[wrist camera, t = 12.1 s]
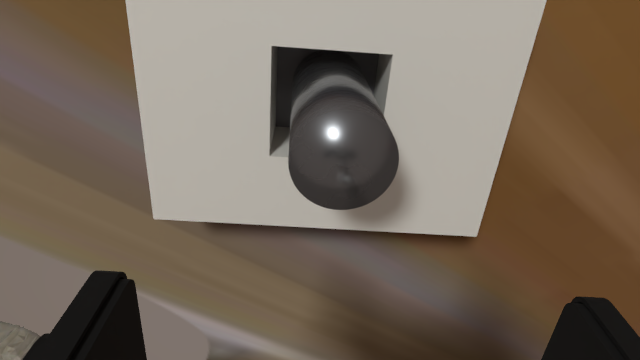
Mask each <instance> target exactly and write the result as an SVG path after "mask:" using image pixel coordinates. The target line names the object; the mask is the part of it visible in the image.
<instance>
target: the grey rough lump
mask: <svg viewBox="0 0 640 360" xmlns="http://www.w3.org/2000/svg"><path fill="white" fill-rule="evenodd" d="M39 337H40V336H39V335H38V334H37V333H34V332H32V331H30V330H27V329H25V328H24V327H21V328H20V326H18V325H12V324H10V323H5V322H2V321H0V360H22V359H23V358H24V356H25V355H26V354H27V352H28V351H29V349H30V348H31V347H32V345H33V344H34V343H35V342H36V341H37V339H38V338H39Z"/></svg>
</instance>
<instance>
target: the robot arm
mask: <svg viewBox="0 0 640 360" xmlns="http://www.w3.org/2000/svg"><path fill="white" fill-rule="evenodd" d="M22 360H147V358H146V352H145V345H144V339H143V333H142V327H141V320H140V313H139V307H138V300H137V294H136V287H135V283H134V281H133V280H132V279H127V276H126V274H125V273H124V272H114V271H94V272H93V273H92V274H91V275H90V277H89V278H88V280H87V281H86V283H85V284H84V286H83V287H82V288H81V290H80V291H79V292H78V294H77V295H76V297H75V298H74V300H73V301H72V303H71V304H70V305H69V307H68V308H67V310H66V311H65V313H64V314H63V316H62V317H61V319H60V320H59V322H58V323H57V324H56V326H55V327H54V329H53V330H52V332H51V333H50V334H44V335H42V336H41V337H39V338H38V339H37V341H36V342H35V343H34V344H33V345H32V347H31V348H30V349H29V351H28V352H27V354H26V355H25V356H24V358H23V359H22ZM541 360H640V337H639V336H638V335H637V334H636V332H635V331H634V330H633V329H632V328H631V326H630V325H629V324H628V323H627V321H626V320H625V319H624V318H623V317H622V315H621V314H620V313H619V312H618V310H617V309H616V308H615V307H614V306H613V304H612V303H611V302H610V301H609V300H607V299H605V298H595V297H575V298H574V299H573V300H572V302H571V303H567V304H566V305H565V307H564V309H563V311H562V313H561V315H560V318H559V320H558V322H557V325H556V327H555V329H554V332H553V334H552V336H551V338H550V341H549V343H548V345H547V348H546V350H545V352H544V355H543V357H542V359H541Z"/></svg>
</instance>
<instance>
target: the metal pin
mask: <svg viewBox="0 0 640 360" xmlns="http://www.w3.org/2000/svg"><path fill="white" fill-rule="evenodd" d="M398 164H399V151H398V146H397V143H396V140H395V138H394V136H393V134H392V132H391V130H390V128H389V126H388V124H387V122H386V120H385V117H384V115H383V113H382V111H381V109H380V107H379V105H378V103H377V101H376V99H375V97H374V95H373V93H372V91H371V89H370V87H369V85H368V83H367V81H366V79H365V77H364V75H363V73H362V70H361V68H360V67H359V65H358V63H357V62H356V61H355V60H354V59H353V58H352V57H351V56H349V55H348V54H346V53H344V52H342V51H336V50H319V51H315V52H313V53H311V54H310V55H308V56H307V57H305V58H304V59H303V60H302V61H301V62H300V64H299V65H298V67H297V69H296V71H295V73H294V76H293V83H292V101H291V119H290V138H289V156H288V166H289V172H290V176H291V179H292V181H293V183H294V185H295V187H296V188H297V189H298V191H299V192H300V193H301V194H302V195H303V196H304V197H305V198H307V199H308V200H309V201H311V202H313V203H314V204H316V205H319V206H321V207H324V208H328V209H333V210H349V209H355V208H358V207H362V206H364V205H367V204H369V203H371V202H372V201H374V200H376V199H377V198H378V197H380V196H381V195H382V194H383V193H384V192H385V191H386V190H387V189H388V187H389V186H390V185H391V183H392V181H393V179H394V178H395V175H396V172H397V169H398Z"/></svg>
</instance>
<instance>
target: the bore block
mask: <svg viewBox="0 0 640 360" xmlns="http://www.w3.org/2000/svg"><path fill="white" fill-rule="evenodd" d="M545 4H546V0H126V8H127V16H128V24H129V32H130V39H131V47H132V55H133V63H134V71H135V78H136V86H137V94H138V102H139V109H140V117H141V125H142V133H143V141H144V148H145V156H146V164H147V172H148V180H149V187H150V195H151V203H152V211H153V218H154V219H162V220H180V221H198V222H217V223H235V224H253V225H272V226H290V227H308V228H327V229H345V230H363V231H381V232H400V233H418V234H436V235H455V236H473V237H477V234H478V230H479V227H480V223H481V220H482V217H483V213H484V210H485V207H486V203H487V200H488V196H489V193H490V190H491V186H492V183H493V179H494V176H495V173H496V169H497V166H498V163H499V159H500V156H501V152H502V149H503V146H504V142H505V139H506V136H507V132H508V129H509V125H510V122H511V119H512V115H513V112H514V109H515V105H516V102H517V98H518V95H519V92H520V88H521V85H522V82H523V78H524V75H525V71H526V68H527V65H528V61H529V58H530V55H531V51H532V48H533V44H534V41H535V38H536V34H537V31H538V27H539V24H540V21H541V17H542V14H543V11H544V7H545ZM319 50H336V51H342V52H344V53H346V54H348V55H349V56H351V57H352V58H353V59H354V60H355V61H356V62H357V63H358V65H359V67H360V68H361V70H362V73H363V75H364V77H365V79H366V81H367V83H368V85H369V87H370V89H371V91H372V93H373V95H374V97H375V99H376V101H377V103H378V105H379V107H380V109H381V111H382V113H383V115H384V117H385V120H386V122H387V124H388V126H389V128H390V130H391V132H392V134H393V136H394V138H395V140H396V143H397V146H398V151H399V164H398V169H397V172H396V175H395V178H394V179H393V181H392V183H391V185H390V186H389V187H388V189H387V190H386V191H385V192H384V193H383V194H382V195H381V196H380V197H378V198H377V199H376V200H374V201H372V202H371V203H369V204H367V205H364V206H362V207H358V208H355V209H349V210H333V209H328V208H324V207H321V206H319V205H316V204H314V203H313V202H311V201H309V200H308V199H307V198H305V197H304V196H303V195H302V194H301V193H300V192H299V191H298V189H297V188H296V187H295V185H294V183H293V181H292V179H291V176H290V172H289V166H288V156H289V138H290V119H291V101H292V83H293V76H294V73H295V71H296V69H297V67H298V65H299V64H300V62H301V61H302V60H303V59H304V58H305V57H307V56H308V55H310V54H311V53H313V52H315V51H319Z"/></svg>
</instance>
